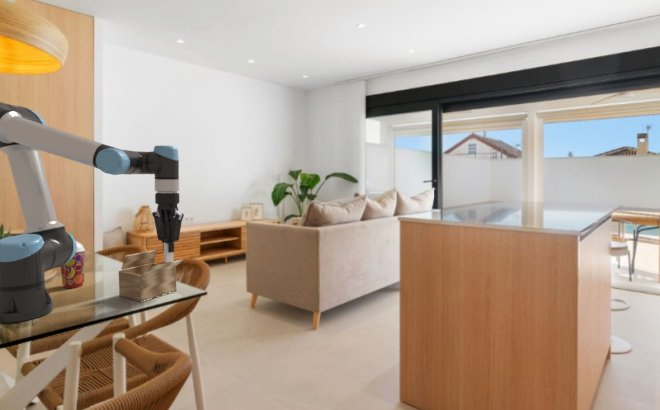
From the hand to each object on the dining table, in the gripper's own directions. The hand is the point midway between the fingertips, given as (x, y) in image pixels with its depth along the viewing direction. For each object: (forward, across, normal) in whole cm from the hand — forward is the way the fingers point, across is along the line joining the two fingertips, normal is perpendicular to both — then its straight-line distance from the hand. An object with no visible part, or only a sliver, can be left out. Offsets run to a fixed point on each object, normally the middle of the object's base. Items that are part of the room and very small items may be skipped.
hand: (168, 261), depth 133 cm
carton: (+13, +11, 0) cm, 17 cm away
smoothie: (+13, +43, +8) cm, 45 cm away
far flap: (+4, +16, 0) cm, 17 cm away
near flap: (+4, +5, 0) cm, 6 cm away
